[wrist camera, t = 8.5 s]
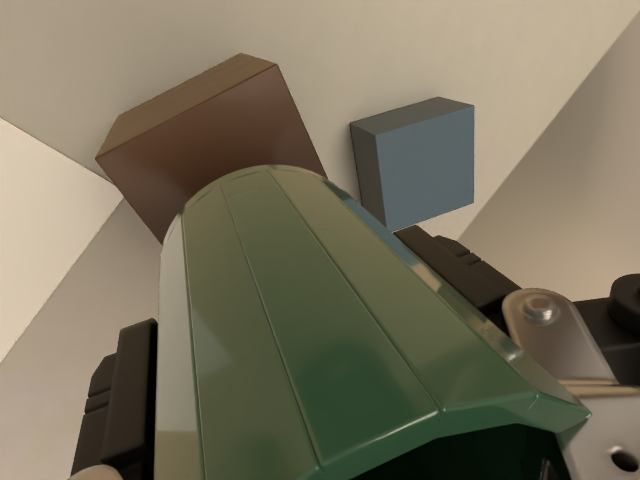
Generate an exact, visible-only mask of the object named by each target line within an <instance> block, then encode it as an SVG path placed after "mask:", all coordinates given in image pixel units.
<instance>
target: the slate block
mask: <svg viewBox="0 0 640 480" xmlns="http://www.w3.org/2000/svg"><path fill="white" fill-rule="evenodd" d="M350 127H351V133H352V140H353V146H354V153H355V159H356V166H357V172H358V179H359V185H360V192H361V198H362V205H363V207H364V208H365V209H366V210H367V211H368V212H369V213H370V214H371V215H373V216H374V217H375V218H376V219H377V220H378V221H379V222H380V223H381V224H383V225H384V226H385V227H386V228H387V229H388V230H389V231H390V232H393V231H396V230H399V229H402V228H405V227H407V226H410V225H413V224H416V223H419V222H421V221H424V220H427V219H430V218H433V217H436V216H438V215H441V214H444V213H447V212H450V211H452V210H455V209H458V208H461V207H464V206H466V205H469V204H472V203H474V105H470V104H466V103H462V102H458V101H454V100H450V99H446V98H442V97H436V98H433V99H429V100H426V101H423V102H419V103H416V104H412V105H409V106H406V107H402V108H399V109H395V110H392V111H388V112H385V113H382V114H378V115H375V116H371V117H368V118H365V119H361V120H358V121H354V122H351V123H350Z"/></svg>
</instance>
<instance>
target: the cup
mask: <svg viewBox="0 0 640 480" xmlns="http://www.w3.org/2000/svg"><path fill="white" fill-rule="evenodd" d="M591 416H592V412H591V411H590V410H589V409H588V408H587V407H586V406H585V405H584V404H583V403H582V402H580V401H579V400H578V399H577V398H576V397H575V396H574V395H573V394H572V393H570V392H569V391H568V390H567V389H566V388H565V387H564V386H563V385H561V384H560V383H559V382H558V381H557V380H556V379H555V378H554V377H553V376H551V375H550V374H549V373H548V372H547V371H546V370H545V369H544V368H542V367H541V366H540V365H539V364H538V363H537V362H536V361H535V360H534V359H532V358H531V357H530V356H529V355H528V354H527V353H526V352H525V351H523V350H522V349H521V348H520V347H519V346H518V345H517V344H516V343H515V342H513V341H512V340H511V339H510V338H509V337H508V336H507V335H506V334H504V333H503V332H502V331H501V330H500V329H499V328H498V327H497V326H496V325H494V324H493V323H492V322H491V321H490V320H489V319H488V318H487V317H485V316H484V315H483V314H482V313H481V312H480V311H479V310H478V309H477V308H475V307H474V306H473V305H472V304H471V303H470V302H469V301H468V300H466V299H465V298H464V297H463V296H462V295H461V294H460V293H459V292H458V291H456V290H455V289H454V288H453V287H452V286H451V285H450V284H449V283H447V282H446V281H445V280H444V279H443V278H442V277H441V276H440V275H438V274H437V273H436V272H435V271H434V270H433V269H432V268H431V267H430V266H428V265H427V264H426V263H425V262H424V261H423V260H422V259H421V258H419V257H418V256H417V255H416V254H415V253H414V252H413V251H412V250H411V249H409V248H408V247H407V246H406V245H405V244H404V243H403V242H402V241H400V240H399V239H398V238H397V237H396V236H395V235H394V234H393V233H392V232H390V231H389V230H388V229H387V228H386V227H385V226H384V225H383V224H381V223H380V222H379V221H378V220H377V219H376V218H375V217H374V216H373V215H371V214H370V213H369V212H368V211H367V210H366V209H365V208H364V207H362V206H361V205H360V204H359V203H358V202H357V201H356V200H355V199H354V198H352V197H351V196H350V195H349V194H348V193H347V192H345V191H343V190H342V189H340V188H338V187H337V186H336V185H335V184H334V183H332V182H331V181H329V180H328V179H326V178H325V177H323V176H321V175H319V174H317V173H314V172H312V171H309V170H306V169H303V168H300V167H294V166H288V165H261V166H253V167H249V168H245V169H241V170H238V171H235V172H232V173H230V174H227V175H225V176H223V177H221V178H219V179H217V180H215V181H213V182H211V183H210V184H208V185H207V186H206V187H204V188H203V189H201V190H200V191H199V192H197V193H196V194H195V195H194V196H193V197H192V198H191V199H190V200H189V201H188V202H187V203H186V204H185V205H184V206H183V208H182V209H181V210H180V211H179V212H178V214H177V215H176V217H175V219H174V220H173V222H172V223H171V225H170V227H169V229H168V232H167V234H166V236H165V238H164V242H163V246H162V250H161V256H160V266H159V301H158V337H157V373H156V408H155V444H154V480H522V476H521V467H520V459H521V460H524V452H525V443H526V435H527V426H529V427H533V428H537V429H541V430H545V431H549V432H553V433H559V432H562V431H564V430H566V429H568V428H570V427H572V426H574V425H576V424H578V423H580V422H582V421H584V420H585V418H588V417H591ZM519 458H520V459H519Z"/></svg>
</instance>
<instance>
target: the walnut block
mask: <svg viewBox="0 0 640 480" xmlns="http://www.w3.org/2000/svg"><path fill="white" fill-rule="evenodd" d="M95 160H96V162H97V163H98V164H99V166H100V167H101V168H102V169H103V171H104V172H105V173H106V174H107V176H108V177H109V178H110V180H111V181H112V182H113V183H114V185H115V186H116V187H117V188H118V190H119V191H120V192H121V194H122V195H123V196H124V197H125V199H126V200H127V201H128V202H129V204H130V205H131V206H132V208H133V209H134V210H135V211H136V213H137V214H138V215H139V216H140V218H141V219H142V220H143V222H144V223H145V224H146V225H147V227H148V228H149V229H150V230H151V232H152V233H153V234H154V236H155V237H156V238H157V239H158V241H159V242H160V243H161V244H162V246H163V242H164V238H165V236H166V234H167V232H168V229H169V227H170V225H171V223H172V222H173V220H174V219H175V217H176V215H177V214H178V212H179V211H180V210H181V209H182V208H183V206H184V205H185V204H186V203H187V202H188V201H189V200H190V199H191V198H192V197H193V196H194V195H195V194H196V193H197V192H199V191H200V190H201V189H203V188H204V187H206V186H207V185H208V184H210V183H211V182H213V181H215V180H217V179H219V178H221V177H223V176H225V175H227V174H230V173H232V172H235V171H238V170H241V169H245V168H249V167H253V166H261V165H288V166H294V167H300V168H303V169H306V170H309V171H312V172H314V173H317V174H319V175H321V176H323V177H325V178H326V179H328V178H327V176H326V173H325V171H324V169H323V166H322V164H321V162H320V160H319V157H318V155H317V153H316V151H315V148H314V146H313V144H312V141H311V139H310V137H309V135H308V132H307V130H306V128H305V126H304V123H303V121H302V119H301V116H300V114H299V112H298V110H297V107H296V105H295V103H294V101H293V98H292V96H291V94H290V92H289V89H288V87H287V85H286V82H285V80H284V78H283V76H282V73H281V71H280V69H279V67H278V65H277V64H276V63H272V62H269V61H266V60H262V59H259V58H256V57H252V56H249V55H246V54H243V53H240V54H238V55H236V56H234V57H232V58H230V59H228V60H227V61H225V62H223V63H221V64H219V65H217V66H215V67H213V68H211V69H209V70H207V71H205V72H203V73H201V74H199V75H197V76H195V77H193V78H192V79H190V80H188V81H186V82H184V83H182V84H180V85H178V86H176V87H174V88H172V89H170V90H168V91H166V92H164V93H162V94H160V95H158V96H157V97H155V98H153V99H151V100H149V101H147V102H145V103H143V104H141V105H139V106H137V107H135V108H133V109H131V110H129V111H127V112H125V113H123V114H122V115H120V116H118V118H117V120H116V121H115V123H114V125H113V127H112V128H111V130H110V132H109V134H108V136H107V137H106V139H105V141H104V143H103V145H102V146H101V148H100V150H99V152H98V154H97V155H96V157H95Z"/></svg>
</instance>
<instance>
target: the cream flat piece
mask: <svg viewBox="0 0 640 480" xmlns="http://www.w3.org/2000/svg"><path fill="white" fill-rule="evenodd" d="M123 198H124V196H123V195H122V194H121V192H120V191H119V190H118V188H117V187H116V186H115V185H114V184H112V183H110V182H108V181H107V180H105V179H103V178H102V177H100V176H98V175H97V174H95V173H93V172H91V171H90V170H88V169H86V168H85V167H83V166H81V165H80V164H78V163H76V162H74V161H73V160H71V159H69V158H68V157H66V156H64V155H63V154H61V153H59V152H57V151H56V150H54V149H52V148H51V147H49V146H47V145H46V144H44V143H42V142H40V141H39V140H37V139H35V138H34V137H32V136H30V135H29V134H27V133H25V132H23V131H22V130H20V129H18V128H17V127H15V126H13V125H11V124H10V123H8V122H6V121H5V120H3V119H1V118H0V363H1V361H2V360H3V359H4V357H5V356H6V354H7V353H8V352H9V350H10V349H11V348H12V346H13V345H14V344H15V342H16V341H17V340H18V338H19V337H20V336H21V334H22V333H23V332H24V330H25V329H26V328H27V326H28V325H29V324H30V322H31V321H32V320H33V318H34V317H35V316H36V314H37V313H38V312H39V310H40V309H41V308H42V306H43V305H44V304H45V302H46V301H47V299H48V298H49V297H50V295H51V294H52V293H53V291H54V290H55V289H56V287H57V286H58V285H59V283H60V282H61V281H62V279H63V278H64V277H65V275H66V274H67V273H68V271H69V270H70V269H71V267H72V266H73V265H74V263H75V262H76V261H77V259H78V258H79V257H80V255H81V254H82V253H83V251H84V250H85V248H86V247H87V246H88V244H89V243H90V242H91V240H92V239H93V238H94V236H95V235H96V234H97V232H98V231H99V230H100V228H101V227H102V226H103V224H104V223H105V222H106V220H107V219H108V218H109V216H110V215H111V214H112V212H113V211H114V210H115V208H116V207H117V206H118V204H119V203H120V202H121V200H122V199H123Z"/></svg>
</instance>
